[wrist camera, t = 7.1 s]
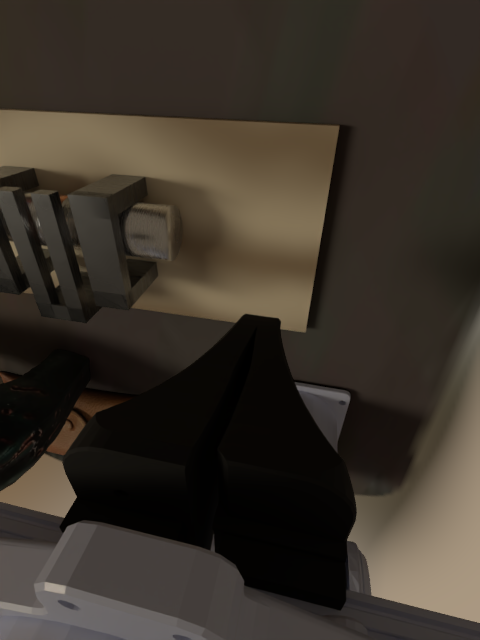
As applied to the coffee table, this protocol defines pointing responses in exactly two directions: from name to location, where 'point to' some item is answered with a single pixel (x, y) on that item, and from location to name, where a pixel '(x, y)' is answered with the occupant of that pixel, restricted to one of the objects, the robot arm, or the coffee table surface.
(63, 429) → the sunglasses case
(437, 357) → the coffee table surface
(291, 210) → the base board
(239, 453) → the robot arm
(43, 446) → the ceramic cat
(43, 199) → the grey slotted rack
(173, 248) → the tube
